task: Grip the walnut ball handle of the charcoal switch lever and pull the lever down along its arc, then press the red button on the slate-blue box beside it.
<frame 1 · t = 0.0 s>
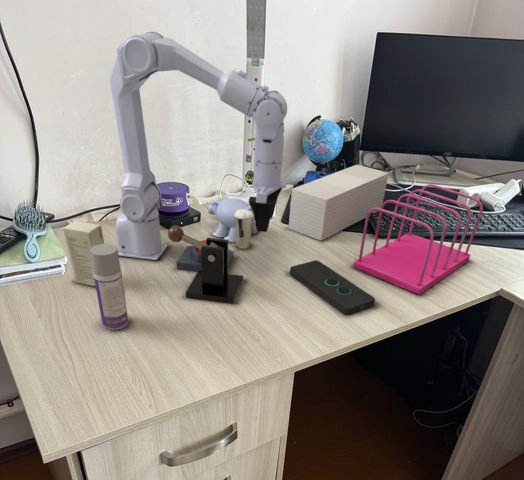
hand: (264, 224, 106), 10 cm above the table, tool pointing down, fingers open, 7 cm apart
button: (205, 247, 109), point 4 cm above the table, slide at 0.1 cm
stack of papers: (337, 219, 137), on the table
container: (115, 323, 91), on the table
milkshake: (244, 247, 120), on the table
cosmetic box: (93, 281, 103), on the table
hippopotamus toy: (231, 232, 127), on the table
lever: (195, 242, 97), point 10 cm above the table, hinge at 20.0°
button box: (205, 262, 112), on the table
smart home device: (329, 289, 105), on the table
switch bracket: (215, 288, 102), on the table
file sorter: (412, 265, 116), on the table
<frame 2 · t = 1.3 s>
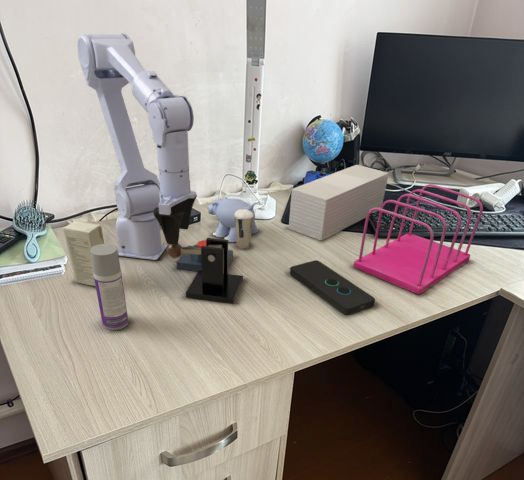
hand: (177, 235, 99), 10 cm above the table, tool pointing down, fingers open, 7 cm apart
lever: (194, 250, 98), point 8 cm above the table, hinge at -4.3°
everything else where it was.
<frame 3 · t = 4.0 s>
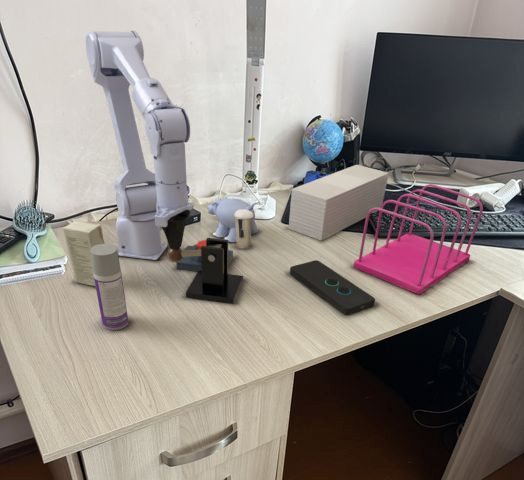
hand: (175, 247, 98), 9 cm above the table, tool pointing down, fingers closed
lever: (194, 253, 98), point 8 cm above the table, hinge at -10.5°
everything else where it was.
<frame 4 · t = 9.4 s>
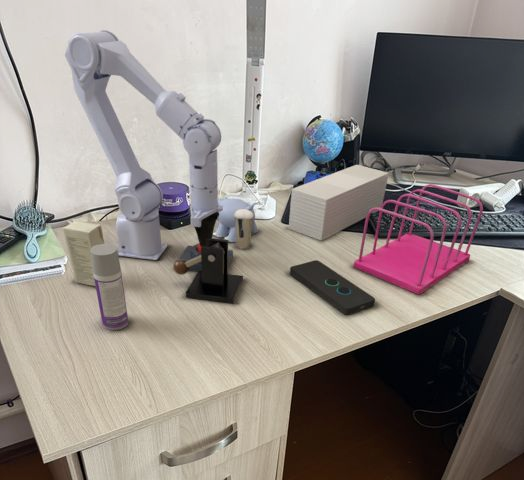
hand: (205, 245, 109), 4 cm above the table, tool pointing down, fingers closed, pressing on button
button: (205, 248, 110), point 4 cm above the table, slide at -0.3 cm, touching gripper
lever: (197, 259, 99), point 6 cm above the table, hinge at -30.6°
everything else where it was.
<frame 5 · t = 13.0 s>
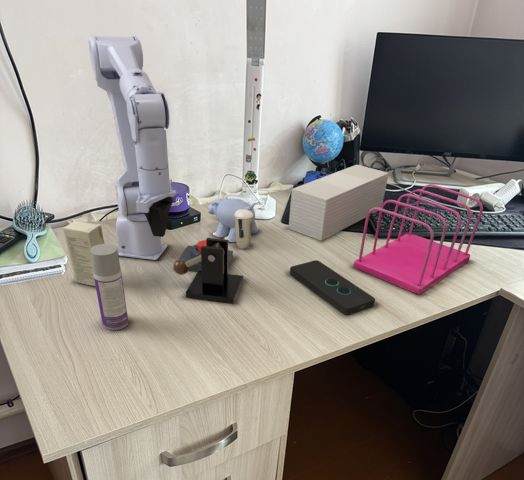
hand: (159, 235, 98), 10 cm above the table, tool pointing down, fingers closed
button: (205, 247, 109), point 4 cm above the table, slide at 0.1 cm
everything else where it was.
at the end: lever at -31° (first picture: +20°); button pushed in 1.0 cm at the most during the clip, back to where it started at the end; button slide at 0.1 cm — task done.
